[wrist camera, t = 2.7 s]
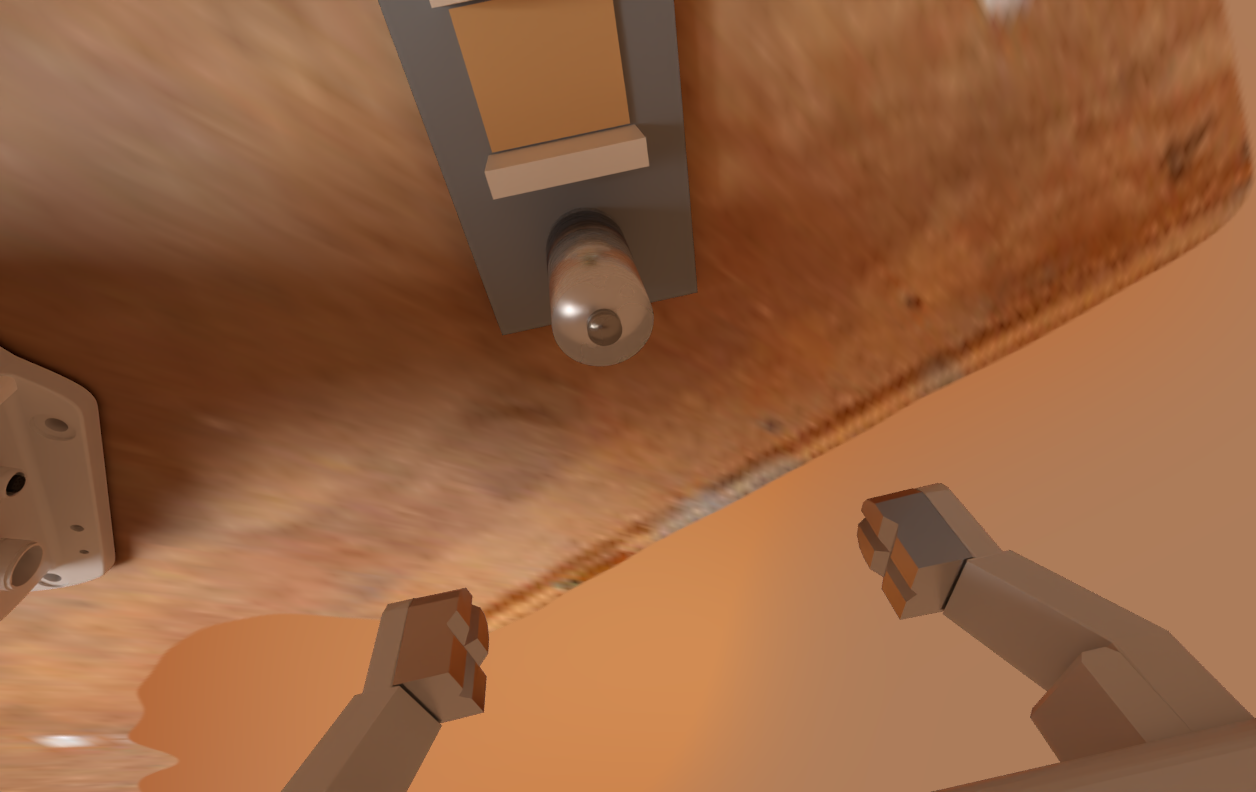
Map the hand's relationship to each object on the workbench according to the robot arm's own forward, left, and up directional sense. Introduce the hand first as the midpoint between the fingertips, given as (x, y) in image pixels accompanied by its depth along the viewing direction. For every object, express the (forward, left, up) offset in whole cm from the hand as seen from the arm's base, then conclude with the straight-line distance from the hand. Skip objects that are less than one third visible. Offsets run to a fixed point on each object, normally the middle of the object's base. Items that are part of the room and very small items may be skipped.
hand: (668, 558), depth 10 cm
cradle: (+6, +3, -18) cm, 19 cm away
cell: (0, 0, -17) cm, 17 cm away
